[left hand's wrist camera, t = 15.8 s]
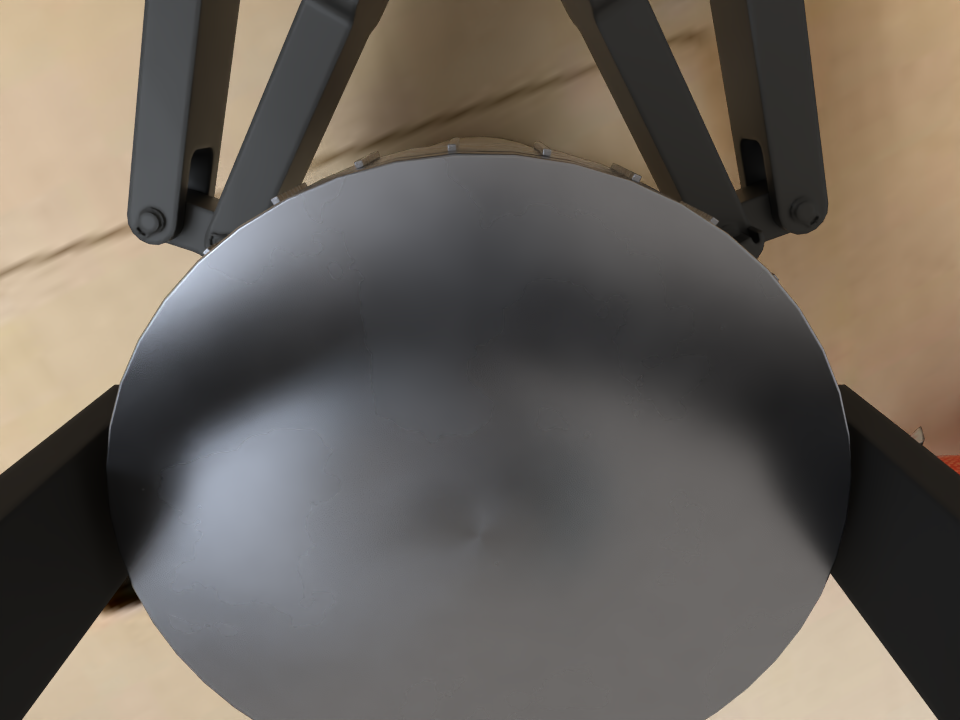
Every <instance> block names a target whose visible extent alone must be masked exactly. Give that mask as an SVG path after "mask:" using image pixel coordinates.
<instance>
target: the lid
mask: <svg viewBox="0 0 960 720" xmlns="http://www.w3.org/2000/svg"><path fill="white" fill-rule="evenodd" d="M354 164H355V165H354V166H352V167H350V168H347V169H345V170H343V171H340V172H338V173H336V174H333V175H331V176H329V177H326V178H324V179H321V180H319V181H318V182H316V183H314V184H312V185H310V186H307V185H306V183H305V182H304V183H302V184H300V185H298V186H296V187H294V188H292V189H290V190H288V191H286V192H284V193H282V194H280V195H277V196H276V197H274V198H272V199H271V201H272V203H273V204H274V205H273V206H272V207H270V208H268V209H267V210H265V211H264V212H262V213H260V214H259V215H257V216H255V217H254V218H252V219H250V220H249V221H247V222H245V223H244V224H242V225H241V226H239V227H238V228H236V229H235V230H234V231H233V232H232V233H230V234H229V235H228V236H227V237H226V238H224V239H223V240H221V241H219V242H217V243H215V244H214V245H212V246H210V247H208V248H207V249H206V250H205V251H204V252H203V254H204V256H203V257H202V258H200V259H199V260H198V261H197V262H196V263H195V264H194V265H193V267H192V268H191V269H190V270H189V271H188V272H187V273H186V275H185V276H184V277H183V278H182V279H181V280H180V281H179V283H178V284H177V285H176V286H175V287H174V288H173V289H172V290H171V292H170V293H169V294H168V295H167V296H166V297H165V298H164V300H163V301H162V303H161V305H160V306H159V308H158V309H157V311H156V312H155V314H154V316H153V317H152V319H151V320H150V322H149V324H148V325H147V327H146V328H145V330H144V331H143V333H142V335H141V336H140V338H139V339H138V342H137V344H136V346H135V349H134V351H133V353H132V356H131V358H130V360H129V363H128V365H127V367H126V370H125V372H124V374H123V377H122V379H121V381H120V385H119V389H118V393H117V397H116V401H115V405H114V409H113V413H112V417H111V421H110V426H109V437H108V450H107V462H106V476H107V489H108V502H109V512H110V516H111V521H112V525H113V529H114V533H115V538H116V542H117V546H118V550H119V553H120V555H121V558H122V560H123V563H124V566H125V568H126V571H127V573H128V576H129V578H130V581H131V583H132V586H133V588H134V590H135V592H136V593H137V595H138V597H139V599H140V601H141V602H142V604H143V606H144V608H145V609H146V611H147V613H148V615H149V616H150V618H151V620H152V622H153V623H154V625H155V626H156V627H157V629H158V630H159V631H160V633H161V634H162V635H163V637H164V638H165V639H166V641H167V642H168V643H169V645H170V646H171V647H172V649H173V650H174V651H175V653H176V654H177V655H178V656H179V657H180V658H181V659H182V660H183V661H184V662H185V663H186V664H187V665H188V666H189V667H190V668H191V670H192V671H193V672H194V673H195V674H196V675H197V676H198V677H199V678H200V679H201V680H202V681H203V682H204V683H205V684H206V685H208V686H209V687H210V688H211V689H213V690H214V691H215V692H216V693H217V694H219V695H220V696H221V697H222V698H223V699H225V700H226V701H227V702H228V703H230V704H231V705H232V706H233V707H234V708H236V709H237V710H239V711H240V712H242V713H243V714H245V715H247V716H248V717H250V718H251V719H253V720H705V719H707V718H709V717H710V716H712V715H713V714H715V713H717V712H718V711H719V710H721V709H722V708H723V707H724V706H726V705H727V704H728V703H729V702H731V701H732V700H733V699H735V698H736V697H737V696H738V695H740V694H741V693H742V692H743V691H745V690H746V689H747V688H748V687H749V686H750V685H751V684H752V683H753V682H754V681H755V680H756V679H757V678H758V677H759V676H760V675H761V674H762V673H764V672H765V671H766V670H767V669H768V668H769V667H770V666H771V665H772V664H773V663H774V662H775V661H776V659H777V658H778V657H779V656H780V654H781V653H782V652H783V651H784V649H785V648H786V647H787V646H788V644H789V643H790V642H791V641H792V639H793V638H794V637H795V635H796V634H797V633H798V632H799V630H800V629H801V627H802V626H803V624H804V622H805V621H806V619H807V617H808V616H809V614H810V612H811V611H812V609H813V607H814V606H815V604H816V602H817V601H818V599H819V597H820V596H821V594H822V591H823V589H824V587H825V584H826V582H827V580H828V577H829V575H830V573H831V570H832V568H833V566H834V563H835V561H836V559H837V555H838V551H839V547H840V544H841V540H842V536H843V532H844V529H845V525H846V521H847V515H848V506H849V497H850V488H851V479H852V477H851V456H850V435H849V431H848V426H847V421H846V416H845V412H844V407H843V402H842V397H841V393H840V389H839V387H838V384H837V382H836V379H835V377H834V374H833V371H832V369H831V366H830V364H829V361H828V359H827V356H826V353H825V351H824V348H823V347H822V345H821V343H820V342H819V340H818V338H817V336H816V335H815V333H814V331H813V330H812V328H811V326H810V325H809V323H808V321H807V319H806V318H805V316H804V314H803V313H802V311H801V309H800V308H799V306H798V305H797V304H796V303H795V301H794V300H793V299H792V298H791V297H790V295H789V294H788V293H787V292H786V290H785V289H784V288H783V287H782V286H781V284H780V283H779V282H778V280H779V279H778V278H777V277H776V275H775V274H773V273H771V272H770V271H769V270H768V269H767V268H766V267H765V266H764V265H763V264H762V263H761V262H759V261H758V260H757V259H756V258H755V257H754V256H753V255H752V254H750V253H749V252H748V251H747V250H746V249H745V248H744V247H743V246H741V245H740V244H739V243H738V242H737V241H736V240H735V239H734V238H732V237H731V236H730V235H729V234H728V233H726V232H725V231H723V230H722V229H720V228H719V227H717V226H716V224H717V223H718V222H719V221H718V220H717V219H715V218H714V217H712V216H710V215H708V214H706V213H704V212H702V211H701V210H699V209H697V208H695V207H693V206H691V205H689V204H687V203H685V202H683V201H681V202H678V201H676V200H674V199H672V198H670V197H668V196H667V195H665V194H663V193H661V192H659V191H657V190H655V189H653V188H651V187H650V186H648V185H646V184H644V183H641V182H639V181H640V179H641V176H640V175H638V174H636V173H634V172H632V171H629V170H627V169H625V168H623V167H621V166H619V165H617V164H615V163H613V164H612V166H611V168H609V167H607V166H605V165H602V164H599V163H596V162H592V161H589V160H586V159H582V158H579V157H576V156H572V155H569V154H566V153H562V152H559V151H555V150H551V149H550V148H548V147H547V146H546V145H544V144H543V143H541V142H537V141H535V142H534V147H529V146H522V145H516V144H509V143H460V142H459V137H457V138H452V139H451V141H450V142H449V144H445V145H437V146H429V147H421V148H412V149H408V150H404V151H401V152H397V153H393V154H389V155H386V156H382V157H380V155H379V152H378V151H377V152H374V153H371V154H369V155H367V156H365V157H363V158H361V159H360V160H358V161H356V162H354Z"/></svg>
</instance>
